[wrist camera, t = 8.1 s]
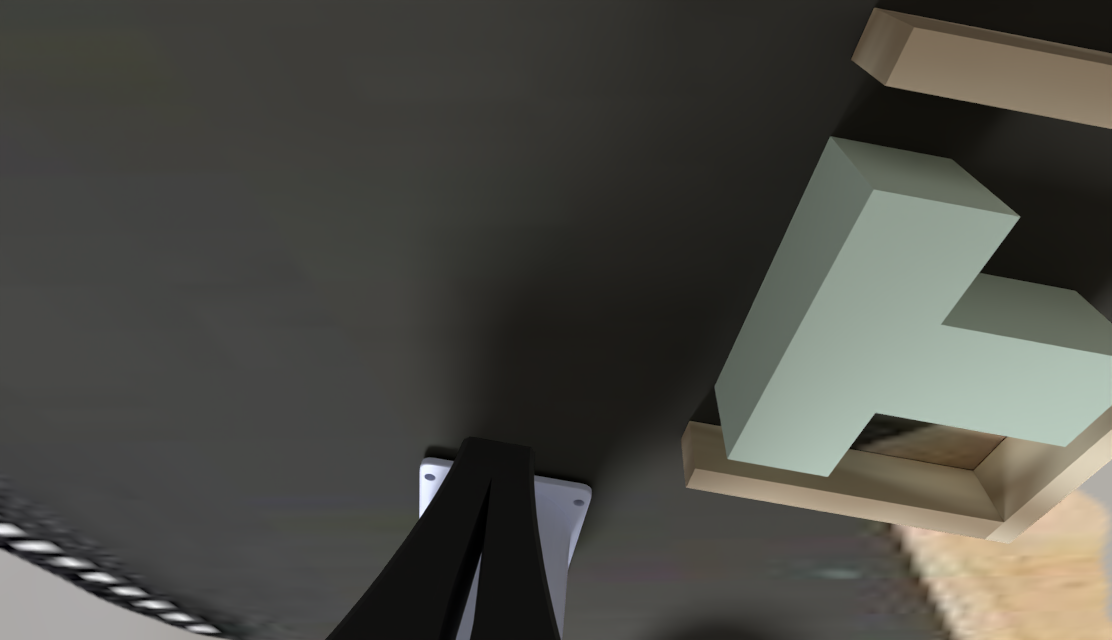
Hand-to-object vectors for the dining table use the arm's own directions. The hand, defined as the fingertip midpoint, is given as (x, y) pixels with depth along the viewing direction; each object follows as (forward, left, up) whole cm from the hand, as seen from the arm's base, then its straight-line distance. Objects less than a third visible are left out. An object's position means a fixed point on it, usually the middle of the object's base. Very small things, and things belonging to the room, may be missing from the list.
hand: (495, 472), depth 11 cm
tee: (0, -12, -9) cm, 15 cm away
